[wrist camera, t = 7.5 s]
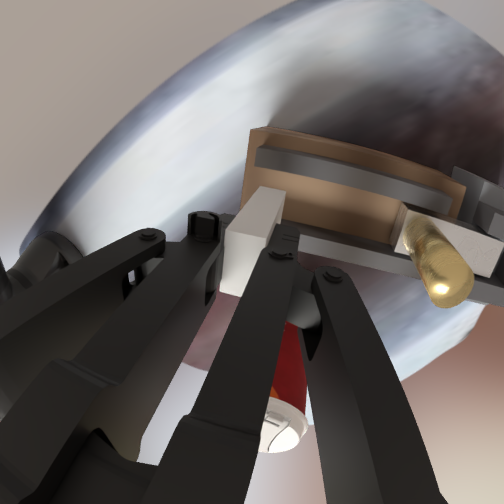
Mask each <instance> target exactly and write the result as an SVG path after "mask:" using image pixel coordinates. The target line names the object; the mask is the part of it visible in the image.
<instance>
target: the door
mask: <svg viewBox="0 0 504 504" xmlns="http://www.w3.org/2000/svg"><path fill="white" fill-rule="evenodd" d="M260 186H263V187H268V188H273V189H278V190H283V191H286V196H285V201H284V206H283V212H282V217H281V223H280V224H282V225H287V226H292V227H296V228H297V229H298V230H299V231H300V240H299V246H298V251H301V252H306V253H310V254H314V255H319V256H323V257H327V258H332V259H336V260H340V261H344V262H349V263H353V264H357V265H362V266H366V267H370V268H374V269H378V270H383V271H387V272H391V273H395V274H399V275H404V276H408V277H412V278H416V279H420V280H422V279H421V277H420V275H419V273H418V271H417V269H416V267H415V265H414V263H413V261H412V259H411V257H410V256H409V255H405V254H402V253H398V252H394V250H393V248H392V246H391V243H390V241H389V239H390V236H391V233H392V230H393V227H394V224H395V221H396V218H397V215H398V212H399V208H400V205H401V202H405V203H408V204H412V205H415V206H418V207H421V208H425V209H428V210H431V211H434V212H437V213H440V214H443V215H446V216H449V217H452V218H454V219H457V216H458V213H459V210H460V207H461V204H462V201H463V198H464V194H465V191H466V188H467V187H466V186H464V185H462V184H461V183H459V182H457V181H456V180H454V179H452V178H451V177H449V176H447V175H445V174H444V173H442V172H440V171H438V170H435V169H433V168H430V167H427V166H424V165H421V164H418V163H416V162H413V161H410V160H406V159H403V158H400V157H397V156H394V155H391V154H387V153H384V152H380V151H377V150H373V149H370V148H366V147H362V146H359V145H355V144H351V143H347V142H343V141H339V140H334V139H330V138H326V137H321V136H316V135H312V134H307V133H302V132H296V131H291V130H285V129H280V128H274V127H267V126H266V127H261V128H255V129H250V136H249V143H248V150H247V158H246V166H245V173H244V181H243V189H242V197H241V205H240V210H241V209H242V208H243V207H244V205H245V204H246V203H247V202H248V200H249V199H250V198H251V197H252V195H253V194H254V193H255V192H256V190H257V189H258V188H259V187H260Z"/></svg>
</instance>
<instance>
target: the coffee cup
mask: <svg viewBox="0 0 504 504" xmlns="http://www.w3.org/2000/svg"><path fill="white" fill-rule="evenodd" d="M297 329H298V326H296V325H294V324H292V323H290V322H288V321H286V322H285V327H284V332H283V337H282V342H281V347H280V351H279V356H278V361H277V365H276V370H275V375H274V379H273V383H272V388H271V392H270V397H269V401H268V405H267V409H266V414H265V418H264V422H263V426H262V430H261V440H260V445H259V450H258V452H267V453H268V452H269V453H274V452H282V451H287V450H289V449H292V448H293V447H295V446H296V445H297V444H298V443H299V441H300V439H301V437H302V436H303V434H305V432H306V431H307V429H308V421H307V419H306V417H305V408H306V394H307V380H306V375H305V370H304V364H303V359H302V354H301V349H300V344H299V339H298V334H297Z"/></svg>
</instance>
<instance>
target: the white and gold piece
mask: <svg viewBox="0 0 504 504" xmlns="http://www.w3.org/2000/svg"><path fill="white" fill-rule="evenodd" d="M389 241H390V243H391V246H392V248H393V250H394V252H398V253H402V254H405V255H409V256H410V257H411V259H412V261H413V263H414V265H415V267H416V269H417V271H418V273H419V275H420V277H421V279H422V281H423V283H424V285H425V287H426V290H427V292H428V294H429V296H430V298H431V301H432V302H433V303H434V304H435V305H436V306H438V307H440V308H451V307H454V306H456V305H458V304H460V303H461V302H463V301H464V300H465V299H466V298H467V297H468V295H469V294H470V292H471V290H472V288H473V285H474V274H473V273H475V274H478V275H481V276H485V277H488V278H490V276H491V274H492V272H493V269H494V267H495V265H496V263H497V261H498V258H499V256H500V254H501V251H502V249H503V247H504V242H503V241H502V240H501V239H500V238H497V237H495V236H492V235H490V234H487V233H486V232H485V231H484V230H483V229H482V228H479V227H476V226H474V225H471V224H468V223H466V222H463V221H460V220H457V219H454V218H452V217H449V216H446V215H443V214H440V213H437V212H434V211H431V210H428V209H425V208H421V207H418V206H415V205H412V204H408V203H405V202H401V205H400V208H399V212H398V215H397V218H396V221H395V224H394V227H393V230H392V233H391V236H390V239H389Z"/></svg>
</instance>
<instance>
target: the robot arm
mask: <svg viewBox="0 0 504 504" xmlns="http://www.w3.org/2000/svg"><path fill="white" fill-rule="evenodd" d="M285 196H286V191H283V190H278V189H273V188H268V187H263V186H260V187H259V188H258V189H257V190H256V192H255V193H254V194H253V195H252V197H251V198H250V199H249V200H248V202H247V203H246V204H245V205H244V207H243V208H242V209H241V210H240V212H239V213H238V214H237V216H235V215H230V214H225V213H224V214H221V215H219V214H217V213H213V212H208V211H197V212H192V213H190V214H188V231H187V236H186V237H185V238H184V239H183V240H182V241H181V242H166V235H165V233H164V232H163V231H161V230H158V229H155V228H146V229H141V230H138V231H136V232H133V233H131V234H129V235H127V236H125V237H123V238H121V239H119V240H117V241H115V242H113V243H111V244H109V245H107V246H105V247H103V248H101V249H99V250H97V251H95V252H93V253H91V254H89V255H87V256H86V257H84V258H83V257H82V255H81V254H80V253H79V251H78V250H77V249H76V248H75V247H74V246H73V244H72V243H70V242H69V241H68V240H67V239H66V238H65V237H63V236H61V235H60V234H58V233H55V232H45V233H43V234H41V235H39V236H38V237H36V238H35V239H34V240H32V241H31V243H30V244H29V246H28V247H27V248H26V250H25V251H24V252H23V253H22V255H21V256H20V258H19V259H18V260H17V262H16V264H15V265H14V266H13V267H12V268H11V269H9V270H8V271H7V272H6V271H5V268H4V266H3V263H2V261H1V258H0V421H1V422H0V504H244V501H245V498H246V494H247V491H248V487H249V484H250V480H251V476H252V473H253V469H254V465H255V461H256V458H257V454H258V450H259V445H260V440H261V430H262V426H263V422H264V418H265V414H266V409H267V405H268V401H269V397H270V392H271V388H272V383H273V379H274V375H275V370H276V365H277V361H278V356H279V351H280V347H281V342H282V337H283V332H284V327H285V322H286V321H288V322H290V323H292V324H294V325H296V326H298V329H297V334H298V339H299V344H300V349H301V354H302V359H303V364H304V370H305V375H306V380H307V386H308V391H309V397H310V402H311V408H312V414H313V420H314V425H315V431H316V437H317V443H318V449H319V455H320V462H321V468H322V474H323V481H324V488H325V494H326V501H327V504H448V503H447V501H446V500H445V499H444V497H443V496H442V494H441V493H440V491H439V488H438V484H437V481H436V478H435V475H434V471H433V468H432V465H431V462H430V459H429V456H428V453H427V451H426V447H425V445H424V442H423V439H422V436H421V434H420V431H419V428H418V426H417V423H416V420H415V418H414V415H413V412H412V410H411V407H410V405H409V403H408V400H407V397H406V395H405V393H404V390H403V388H402V385H401V383H400V381H399V378H398V376H397V374H396V371H395V369H394V367H393V364H392V362H391V360H390V358H389V356H388V353H387V351H386V349H385V347H384V345H383V342H382V340H381V338H380V336H379V334H378V332H377V330H376V328H375V325H374V323H373V321H372V319H371V317H370V315H369V313H368V311H367V309H366V307H365V305H364V303H363V301H362V299H361V297H360V295H359V293H358V291H357V289H356V287H355V286H354V284H353V282H352V280H351V278H350V277H349V276H348V274H347V273H345V272H344V271H342V270H341V269H339V268H338V269H337V268H336V267H330V266H322V267H319V268H317V269H316V270H315V272H314V273H313V272H310V271H308V270H306V269H304V268H303V267H302V266H300V264H299V263H298V262H297V252H298V246H299V240H300V231H299V230H298V229H297V228H296V227H292V226H287V225H282V224H280V223H281V217H282V212H283V206H284V201H285ZM132 270H134V275H135V280H134V281H133V282H129V277H128V273H129V272H130V271H132ZM219 283H220V292H223V293H227V294H231V295H235V296H239V297H241V299H240V301H239V303H238V306H237V308H236V310H235V312H234V315H233V317H232V319H231V322H230V324H229V326H228V329H227V331H226V333H225V335H224V338H223V340H222V342H221V345H220V347H219V349H218V352H217V354H216V356H215V358H214V361H213V363H212V365H211V367H210V370H209V372H208V374H207V377H206V379H205V381H204V383H203V386H202V388H201V390H200V393H199V395H198V397H197V399H196V402H195V404H194V406H193V408H192V410H191V412H190V413H189V414H188V415H184V416H183V417H182V419H181V420H180V421H179V423H178V425H177V427H176V429H175V431H174V433H173V435H172V437H171V439H170V441H169V444H168V446H167V448H166V450H165V452H164V454H163V456H162V458H161V461H160V463H159V465H158V466H156V465H150V464H145V463H139V462H136V461H137V459H138V456H139V452H140V445H141V439H142V436H143V434H144V432H145V430H146V428H147V426H148V424H149V422H150V420H151V419H152V417H153V415H154V413H155V411H156V409H157V407H158V405H159V403H160V402H161V400H162V398H163V396H164V394H165V392H166V390H167V388H168V386H169V385H170V383H171V381H172V379H173V377H174V375H175V373H176V371H177V369H178V368H179V366H180V364H181V362H182V360H183V358H184V356H185V354H186V353H187V351H188V349H189V347H190V345H191V343H192V341H193V339H194V338H195V336H196V334H197V332H198V330H199V328H200V326H201V325H202V323H203V321H204V319H205V317H206V315H207V313H208V312H209V310H210V308H211V306H212V304H213V302H214V300H215V299H216V291H217V286H218V284H219Z"/></svg>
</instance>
